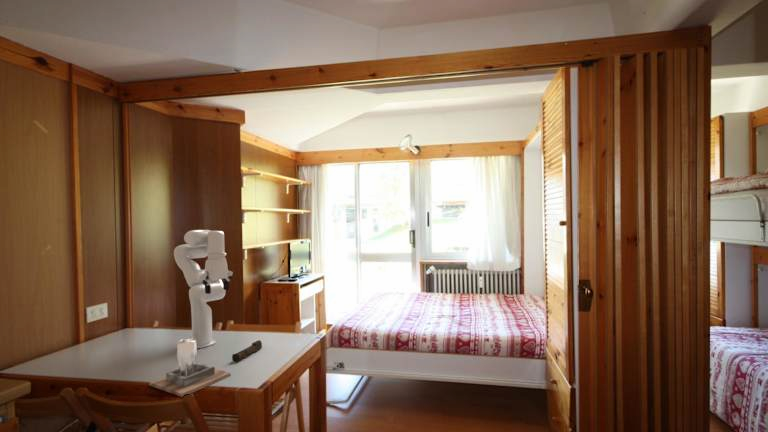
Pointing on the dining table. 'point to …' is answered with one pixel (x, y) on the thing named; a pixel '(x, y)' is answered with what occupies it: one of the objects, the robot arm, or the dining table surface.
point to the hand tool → (247, 351)
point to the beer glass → (187, 356)
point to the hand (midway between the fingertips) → (217, 291)
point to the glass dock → (189, 380)
